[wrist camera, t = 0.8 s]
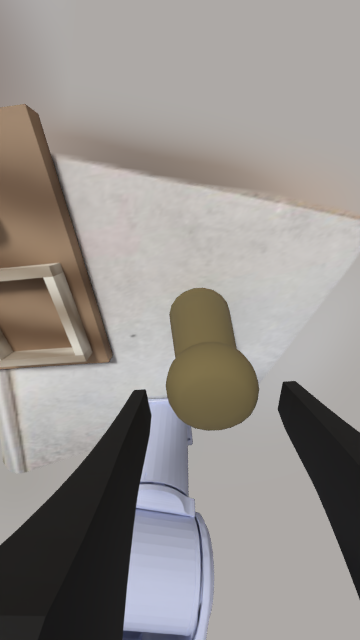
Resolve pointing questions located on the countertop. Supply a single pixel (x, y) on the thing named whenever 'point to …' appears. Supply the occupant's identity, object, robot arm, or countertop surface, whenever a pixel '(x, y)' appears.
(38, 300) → the board
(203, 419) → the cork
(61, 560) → the robot arm
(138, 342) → the countertop surface
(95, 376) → the countertop surface
